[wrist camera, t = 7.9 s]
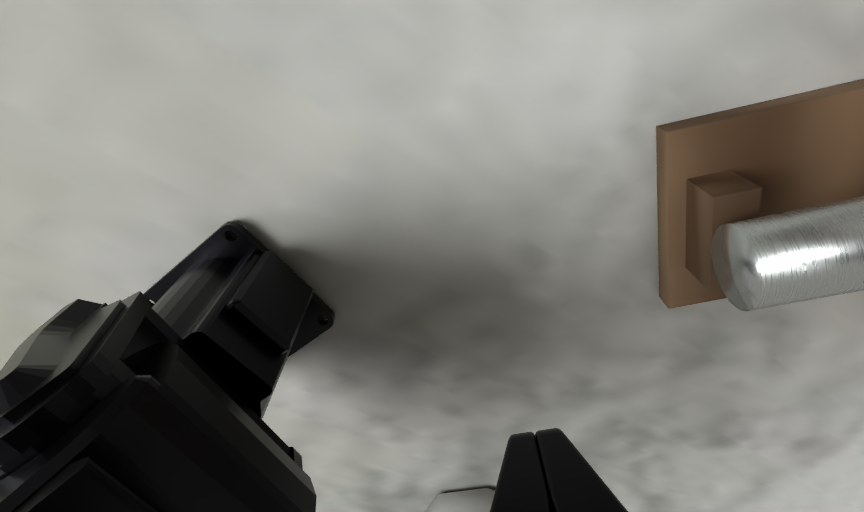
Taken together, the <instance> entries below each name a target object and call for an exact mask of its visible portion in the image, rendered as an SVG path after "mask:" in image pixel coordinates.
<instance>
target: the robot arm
mask: <svg viewBox="0 0 864 512" xmlns="http://www.w3.org/2000/svg"><path fill="white" fill-rule="evenodd" d="M228 231H233V232H234V233H235V234H236V237H232V236H230V235H229V234H228ZM149 300H152V301H154V302H155V304H153V303H151V302H150V301H149ZM320 316H325V317H326V318H327V319H328V320H322V319H321V318H320ZM334 319H335V313H334V312H333V310H332V309H331V308H329V307H328V306H327V305H326V304H325V303H324V302H323V301H322V300H321V299H320V298H319V297H318V296H317V295H316V294H314V293H313V292H312V288H311V287H310V286H309V285H308V284H307V283H306V282H305V281H303V280H302V279H301V278H300V277H299V276H298V275H297V274H296V273H295V272H294V271H293V270H292V269H291V268H290V267H289V266H288V265H286V264H285V263H284V262H283V261H282V260H281V259H280V258H279V257H278V256H277V255H276V254H275V253H273V252H270V251H269V250H267V249H266V248H265V247H264V246H263V245H262V244H261V243H260V242H259V241H258V240H257V239H256V238H255V237H254V236H253V235H251V234H250V233H249V232H248V231H247V230H246V229H245V228H244V227H243V226H242V225H240V224H239V223H237V222H234V221H231V222H227V223H225V224H224V225H223V226H221V227H220V228H219V229H218V230H217V231H216V232H214V233H213V234H212V235H211V236H210V237H209V238H207V239H206V240H205V241H204V242H203V243H202V244H201V245H199V246H198V247H197V248H196V249H195V250H194V251H192V252H191V253H190V254H189V255H188V256H187V257H185V258H184V259H183V260H182V261H181V262H180V263H179V264H177V265H176V266H175V267H174V268H173V269H172V270H170V271H169V272H168V273H167V274H166V275H165V276H163V277H162V278H161V279H160V280H159V281H158V282H156V283H155V284H154V285H153V286H152V287H151V288H150V289H148V290H147V291H146V292H145V293H144V294H142V293H141V292H140V291H139V292H137V293H135V294H133V295H132V296H130V297H128V298H126V299H124V300H123V301H121V300H119V301H116V302H114V303H112V304H110V305H107V304H106V303H104V304H98V303H94V302H89V301H85V300H80V299H77V300H76V301H74V302H72V303H70V304H69V305H67V306H65V307H64V308H62V309H61V310H60V311H59V312H58V313H56V314H55V315H54V316H53V317H52V318H50V319H49V320H48V321H47V322H45V323H44V324H43V325H42V326H41V327H39V328H38V329H37V330H36V331H35V332H34V333H32V334H31V335H30V336H29V337H28V338H27V339H26V340H25V341H24V342H23V343H22V344H21V345H20V346H19V347H18V348H17V349H16V351H15V352H14V353H13V355H12V356H11V357H10V359H9V360H8V362H7V363H6V364H5V366H4V367H3V368H2V370H1V371H0V512H315V510H316V494H315V491H314V488H313V485H312V482H311V479H310V477H309V476H308V475H307V474H306V473H305V472H304V471H303V468H302V457H301V455H300V454H299V453H298V452H297V451H296V450H295V449H294V448H293V447H288V446H287V445H286V444H285V443H284V442H283V441H282V440H281V439H280V438H279V437H278V436H277V435H276V434H275V433H274V432H273V431H272V430H271V429H270V428H269V426H268V425H267V424H266V423H265V422H264V421H263V420H262V418H263V416H264V413H265V411H266V408H267V406H268V403H269V401H270V399H271V396H272V394H273V391H274V389H275V386H276V384H277V382H278V379H279V377H280V374H281V372H282V369H283V367H284V364H285V362H286V360H287V358H288V357H289V356H290V355H292V354H293V353H295V352H296V351H298V350H299V349H300V348H302V347H303V346H305V345H306V344H308V343H309V342H310V341H312V340H313V339H315V338H316V337H318V336H319V335H320V334H322V333H323V332H325V331H326V330H328V329H329V328H330V327H331V326H332V325H333V323H334ZM535 437H536V438H535ZM490 512H628V511H627V510H626V509H625V507H624V506H623V505H622V504H621V503H620V501H619V500H618V499H617V498H616V496H615V495H614V494H613V493H612V492H611V490H610V489H609V488H608V487H607V485H606V484H605V483H604V482H603V481H602V479H601V478H600V477H599V476H598V474H597V473H596V472H595V471H594V470H593V468H592V467H591V466H590V465H589V463H588V462H587V461H586V460H585V459H584V457H583V456H582V455H581V454H580V452H579V451H578V450H577V449H576V448H575V446H574V445H573V444H572V443H571V441H570V440H569V439H568V438H567V437H566V435H565V434H564V433H563V432H562V431H561V430H560V429H558V428H553V429H546V430H539V431H537V432H536V434H535V435H534V434H533V433H532V432H526V433H520V434H513V435H511V436H510V438H509V440H508V444H507V447H506V451H505V455H504V459H503V463H502V467H501V470H500V474H499V478H498V482H497V486H496V489H495V493H494V497H493V501H492V505H491V508H490Z"/></svg>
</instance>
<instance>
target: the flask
mask: <svg viewBox="0 0 864 512" xmlns="http://www.w3.org/2000/svg"><path fill="white" fill-rule="evenodd" d="M494 493H495V491H494V490H491V489H488V488H482V489H474V490H466V491H458V492H450V493H443V494H438V495H437V497H436V498H435V499H434V501H433V502H432V503H431V505H430V506H429V507H428V509H427V510H426V511H425V512H490V508H491V505H492V501H493V497H494Z"/></svg>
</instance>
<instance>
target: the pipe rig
mask: <svg viewBox="0 0 864 512" xmlns="http://www.w3.org/2000/svg"><path fill="white" fill-rule="evenodd" d="M656 140H657V196H658V251H659V297H660V298H661V299H662V301H663V302H664V303H665V304H666V306H667V307H668V308H669V309H670V308H675V307H680V306H686V305H691V304H696V303H702V302H707V301H712V300H718V299H723V298H728V300H729V301H730V302H731V303H732V304H733V305H734V306H735V307H737V308H738V309H740V310H743V311H751V310H756V309H762V308H767V307H773V306H778V305H783V304H789V303H794V302H800V301H805V300H811V299H816V298H822V297H827V296H833V295H838V294H844V293H849V292H854V291H860V290H864V79H862V80H857V81H853V82H848V83H844V84H840V85H835V86H831V87H827V88H822V89H818V90H813V91H809V92H805V93H800V94H796V95H791V96H787V97H783V98H778V99H774V100H769V101H765V102H761V103H756V104H752V105H748V106H743V107H739V108H734V109H730V110H726V111H721V112H717V113H712V114H708V115H704V116H699V117H695V118H690V119H686V120H682V121H677V122H673V123H669V124H664V125H660V126H656Z"/></svg>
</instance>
